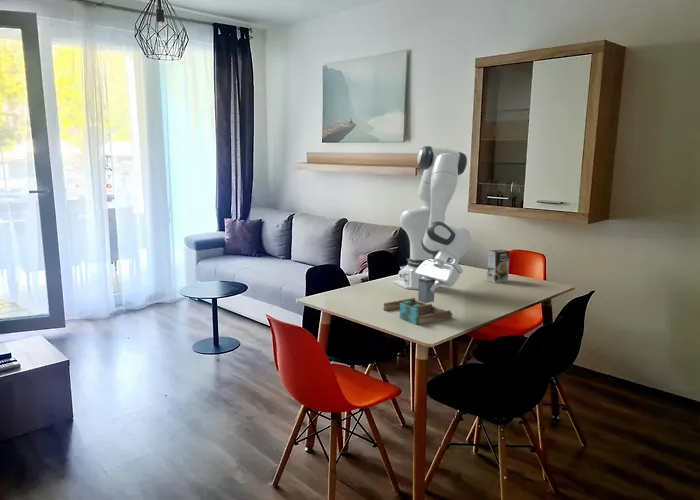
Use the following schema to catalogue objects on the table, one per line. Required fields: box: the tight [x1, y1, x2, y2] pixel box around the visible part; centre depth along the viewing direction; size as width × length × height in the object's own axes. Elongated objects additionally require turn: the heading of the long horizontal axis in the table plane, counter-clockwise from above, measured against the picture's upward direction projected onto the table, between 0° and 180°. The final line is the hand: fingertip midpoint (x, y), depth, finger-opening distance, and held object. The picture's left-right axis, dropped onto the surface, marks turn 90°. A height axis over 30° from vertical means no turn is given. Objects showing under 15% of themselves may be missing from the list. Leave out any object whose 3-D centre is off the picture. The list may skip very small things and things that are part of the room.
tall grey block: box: [417, 277, 435, 304], centre depth 205 cm, size 4×4×9 cm
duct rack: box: [383, 297, 453, 326], centre depth 211 cm, size 23×18×7 cm
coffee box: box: [486, 249, 511, 284], centre depth 269 cm, size 9×6×16 cm
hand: (425, 289), depth 205 cm, fingers closed on tall grey block, 4 cm apart
